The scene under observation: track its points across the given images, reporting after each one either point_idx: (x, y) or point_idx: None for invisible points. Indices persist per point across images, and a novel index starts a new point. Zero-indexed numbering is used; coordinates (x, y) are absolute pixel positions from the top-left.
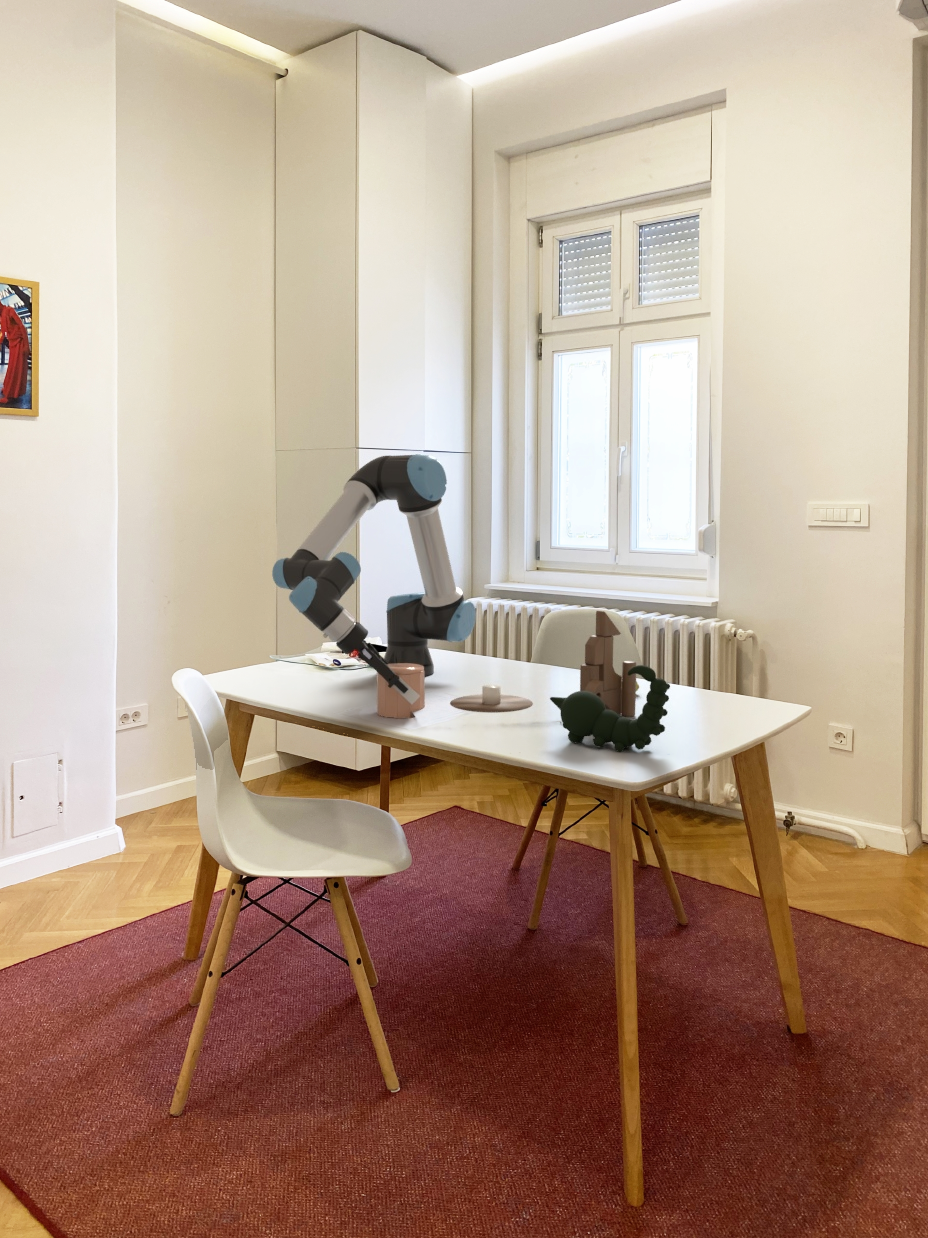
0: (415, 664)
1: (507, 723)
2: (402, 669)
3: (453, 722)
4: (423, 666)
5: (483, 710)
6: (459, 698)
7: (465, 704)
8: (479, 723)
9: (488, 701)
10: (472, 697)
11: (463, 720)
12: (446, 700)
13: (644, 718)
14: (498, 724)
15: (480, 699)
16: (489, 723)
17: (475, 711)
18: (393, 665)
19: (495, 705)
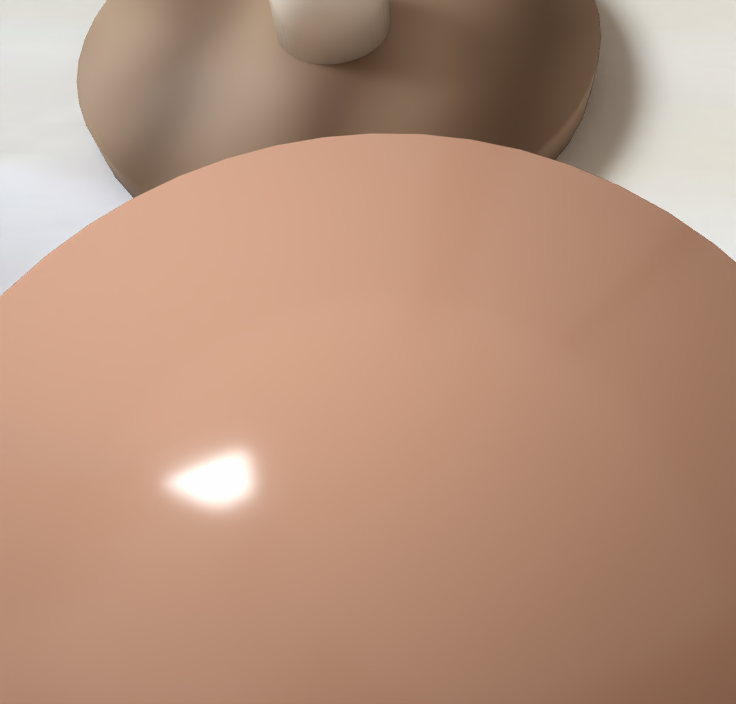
0: (110, 243)
1: (700, 6)
2: (627, 460)
3: (723, 245)
4: (326, 137)
5: (551, 60)
6: (161, 172)
7: None
8: (725, 116)
9: (382, 19)
10: (151, 107)
11: (652, 190)
12: (18, 275)
13: None
14: (733, 39)
15: (223, 71)
16: (715, 73)
17: (583, 96)
18: (98, 669)
19: (407, 11)
